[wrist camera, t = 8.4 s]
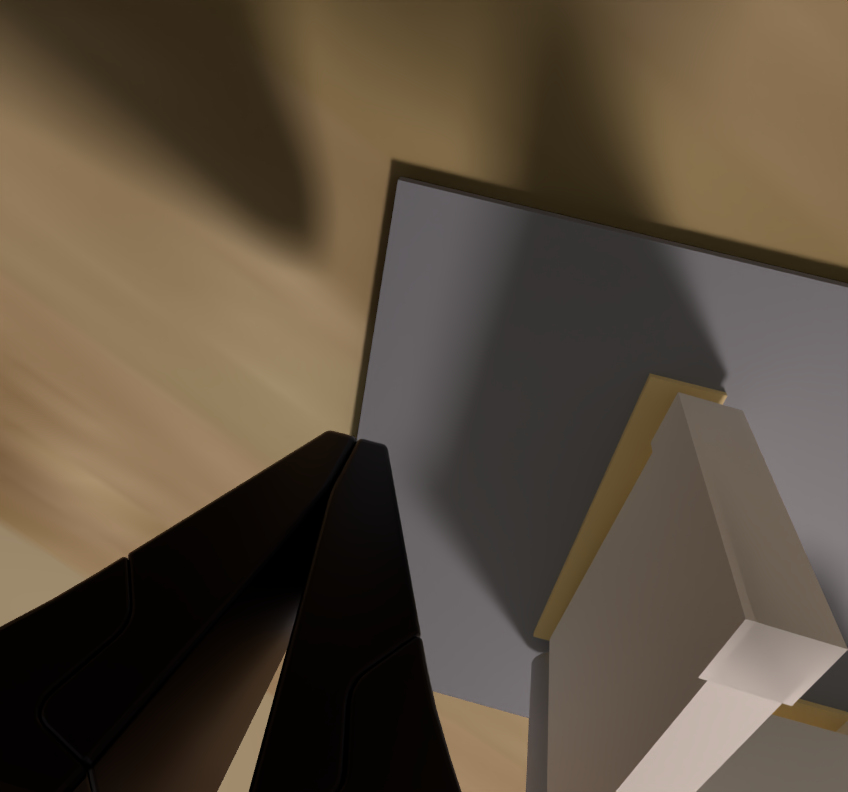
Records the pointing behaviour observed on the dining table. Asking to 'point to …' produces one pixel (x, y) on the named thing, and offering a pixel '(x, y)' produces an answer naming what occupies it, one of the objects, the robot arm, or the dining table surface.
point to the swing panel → (680, 621)
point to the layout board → (581, 414)
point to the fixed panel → (786, 760)
